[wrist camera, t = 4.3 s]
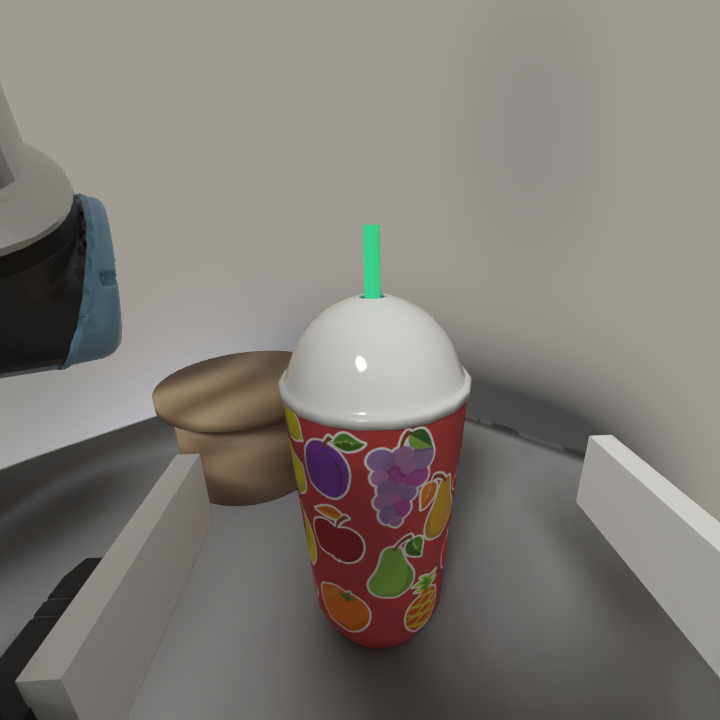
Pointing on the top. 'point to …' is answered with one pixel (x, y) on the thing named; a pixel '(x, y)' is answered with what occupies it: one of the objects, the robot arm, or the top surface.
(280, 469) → the tan muffin-shaped cylinder
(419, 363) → the smoothie
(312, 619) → the top surface
